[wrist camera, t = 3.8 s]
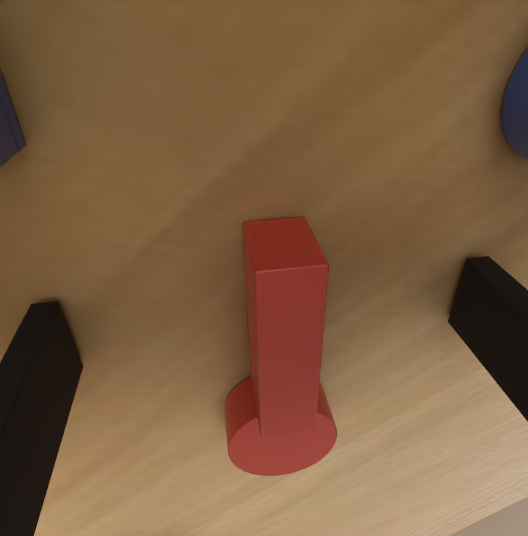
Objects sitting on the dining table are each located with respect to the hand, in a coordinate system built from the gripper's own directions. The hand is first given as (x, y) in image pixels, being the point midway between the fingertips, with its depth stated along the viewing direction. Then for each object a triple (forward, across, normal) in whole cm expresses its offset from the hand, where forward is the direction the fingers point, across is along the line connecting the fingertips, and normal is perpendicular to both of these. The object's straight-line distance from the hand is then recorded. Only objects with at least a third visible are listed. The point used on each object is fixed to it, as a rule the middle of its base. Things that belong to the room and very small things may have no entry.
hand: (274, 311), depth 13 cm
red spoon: (0, 0, -2) cm, 2 cm away
